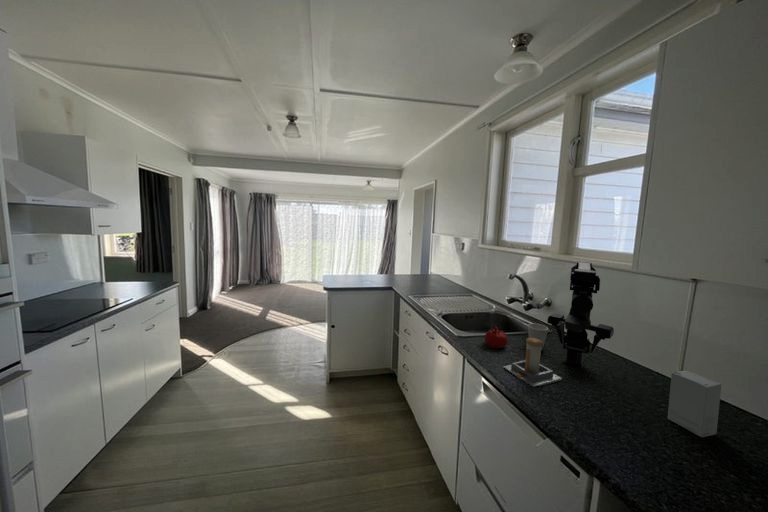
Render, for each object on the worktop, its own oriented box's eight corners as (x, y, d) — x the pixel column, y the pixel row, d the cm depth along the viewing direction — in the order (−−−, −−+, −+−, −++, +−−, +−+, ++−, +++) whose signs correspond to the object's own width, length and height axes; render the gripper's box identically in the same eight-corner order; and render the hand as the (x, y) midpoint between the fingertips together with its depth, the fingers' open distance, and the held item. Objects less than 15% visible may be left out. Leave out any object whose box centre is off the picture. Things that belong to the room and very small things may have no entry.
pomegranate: (510, 351, 127) (512, 331, 126) (488, 350, 127) (490, 330, 126) (501, 341, 137) (503, 323, 136) (481, 340, 137) (482, 322, 136)
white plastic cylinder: (530, 367, 111) (533, 336, 110) (543, 374, 106) (546, 342, 105) (519, 370, 109) (522, 339, 108) (531, 377, 104) (534, 344, 103)
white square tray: (529, 362, 117) (530, 355, 117) (561, 380, 104) (562, 373, 104) (503, 368, 112) (503, 361, 111) (533, 387, 99) (534, 380, 99)
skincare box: (716, 435, 78) (725, 385, 76) (700, 438, 77) (709, 387, 75) (679, 414, 86) (686, 368, 84) (664, 417, 85) (671, 371, 83)
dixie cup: (550, 350, 128) (552, 329, 127) (535, 352, 126) (537, 330, 125) (537, 342, 136) (538, 322, 135) (521, 344, 134) (523, 323, 133)
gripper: (543, 303, 101) (539, 345, 103) (609, 317, 87) (603, 365, 89) (554, 298, 108) (550, 337, 110) (616, 310, 94) (611, 355, 96)
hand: (576, 348), depth 101 cm, fingers open, 9 cm apart
